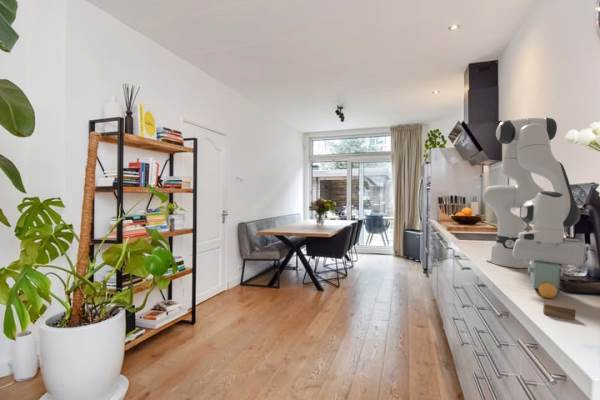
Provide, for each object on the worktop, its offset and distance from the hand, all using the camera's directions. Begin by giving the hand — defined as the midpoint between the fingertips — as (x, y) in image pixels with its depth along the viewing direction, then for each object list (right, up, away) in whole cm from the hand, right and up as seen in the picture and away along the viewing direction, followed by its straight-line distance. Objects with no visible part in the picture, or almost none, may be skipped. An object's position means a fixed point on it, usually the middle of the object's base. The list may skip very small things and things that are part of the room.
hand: (544, 274), depth 115 cm
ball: (-4, -4, -6) cm, 9 cm away
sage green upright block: (0, -4, +1) cm, 5 cm away
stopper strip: (-13, -7, -22) cm, 27 cm away
